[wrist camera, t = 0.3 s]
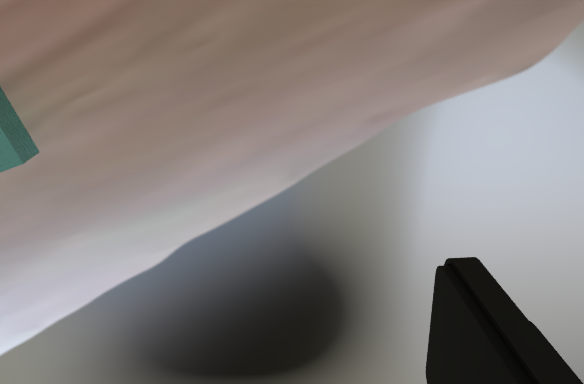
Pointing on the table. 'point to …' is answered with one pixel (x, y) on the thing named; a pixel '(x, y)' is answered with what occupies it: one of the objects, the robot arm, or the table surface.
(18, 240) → the table surface
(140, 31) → the table surface
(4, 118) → the rail
